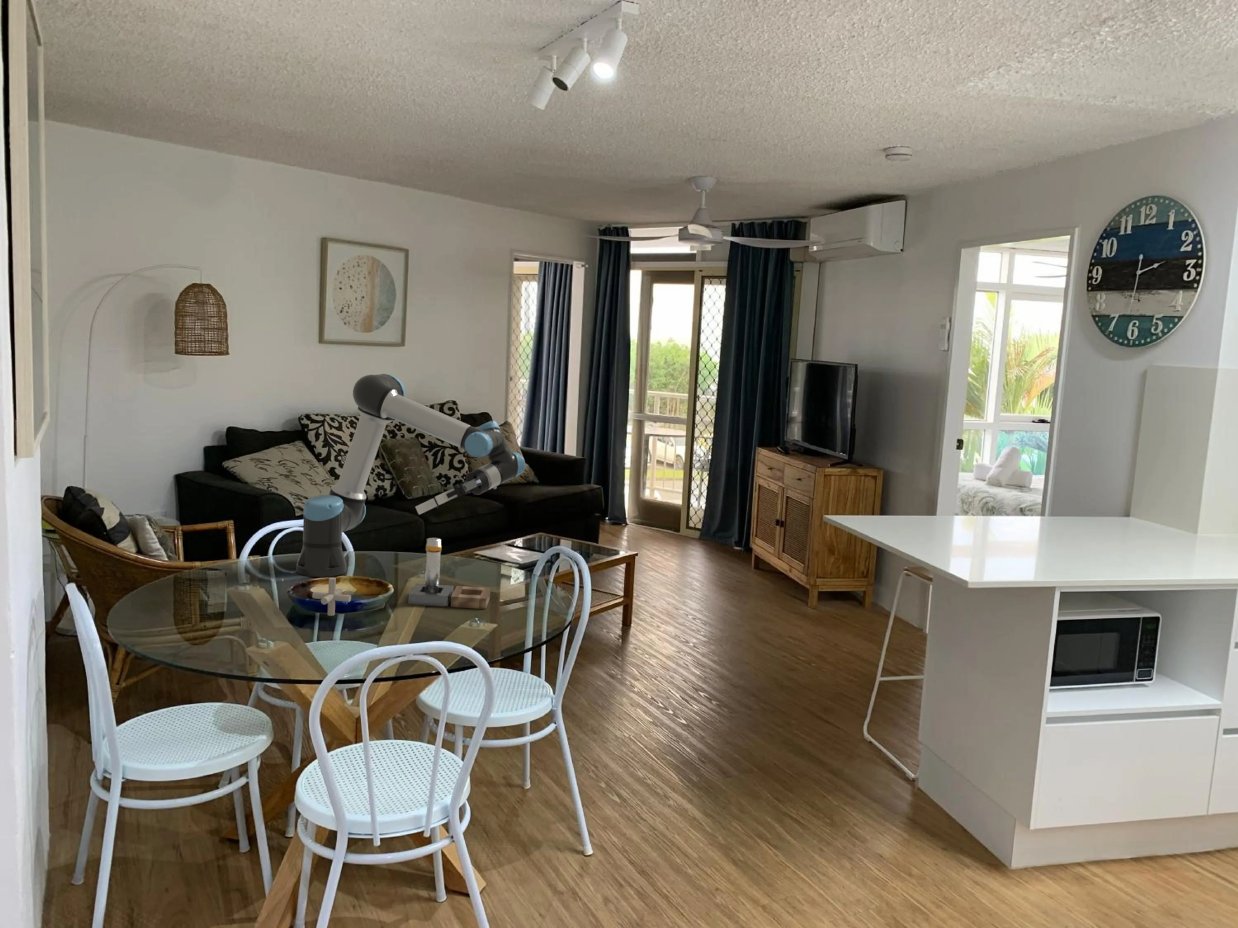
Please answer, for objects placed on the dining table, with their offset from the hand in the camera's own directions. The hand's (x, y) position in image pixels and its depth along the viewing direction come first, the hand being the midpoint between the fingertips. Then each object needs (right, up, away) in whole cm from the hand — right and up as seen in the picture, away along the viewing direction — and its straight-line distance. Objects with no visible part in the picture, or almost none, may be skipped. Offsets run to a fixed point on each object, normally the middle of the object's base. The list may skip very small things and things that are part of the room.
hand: (427, 505), depth 272 cm
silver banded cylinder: (+2, -27, -5) cm, 28 cm away
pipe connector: (-20, -28, -26) cm, 44 cm away
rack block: (+14, -28, -5) cm, 31 cm away
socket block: (+2, -27, -5) cm, 28 cm away
